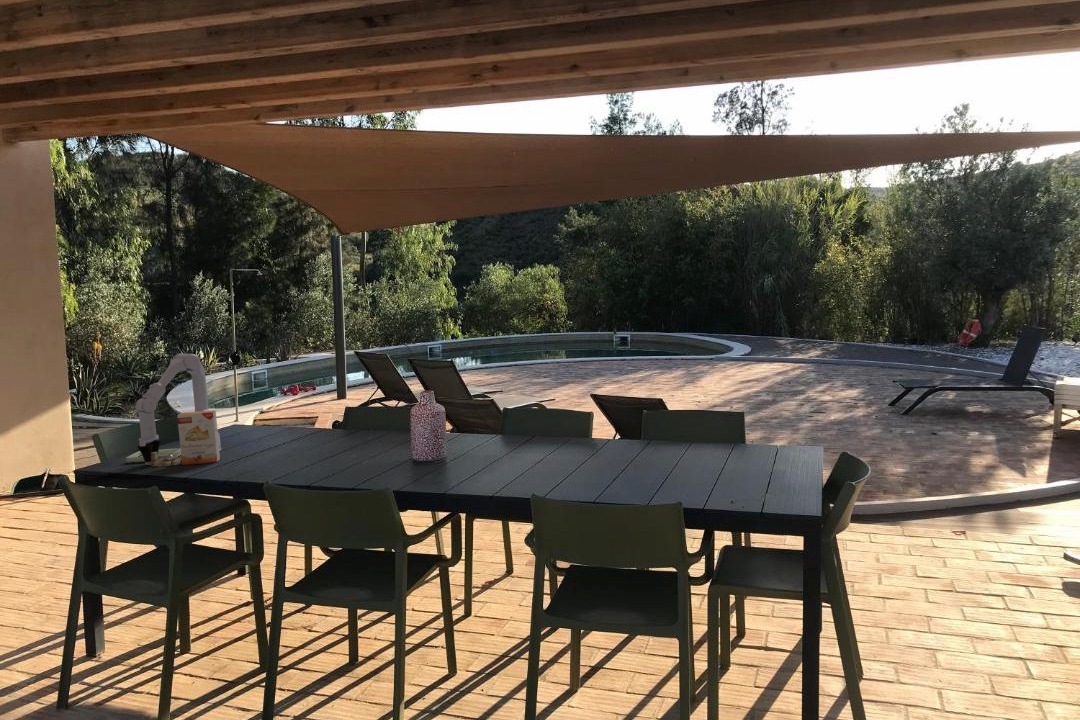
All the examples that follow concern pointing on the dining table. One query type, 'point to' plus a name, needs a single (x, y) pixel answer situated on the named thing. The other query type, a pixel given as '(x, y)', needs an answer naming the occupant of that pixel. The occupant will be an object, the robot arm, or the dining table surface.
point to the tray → (160, 455)
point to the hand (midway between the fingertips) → (151, 460)
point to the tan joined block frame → (162, 460)
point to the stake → (169, 456)
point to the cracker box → (198, 437)
